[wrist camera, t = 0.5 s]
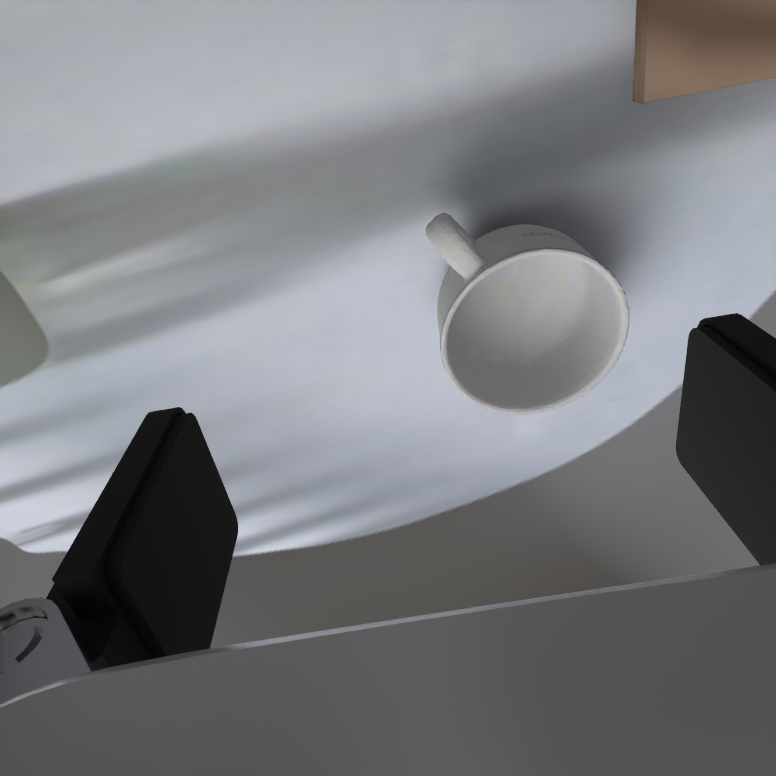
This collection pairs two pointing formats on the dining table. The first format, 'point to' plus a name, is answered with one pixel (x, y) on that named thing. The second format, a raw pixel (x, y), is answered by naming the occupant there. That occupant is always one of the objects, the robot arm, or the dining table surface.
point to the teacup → (525, 316)
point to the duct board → (701, 46)
